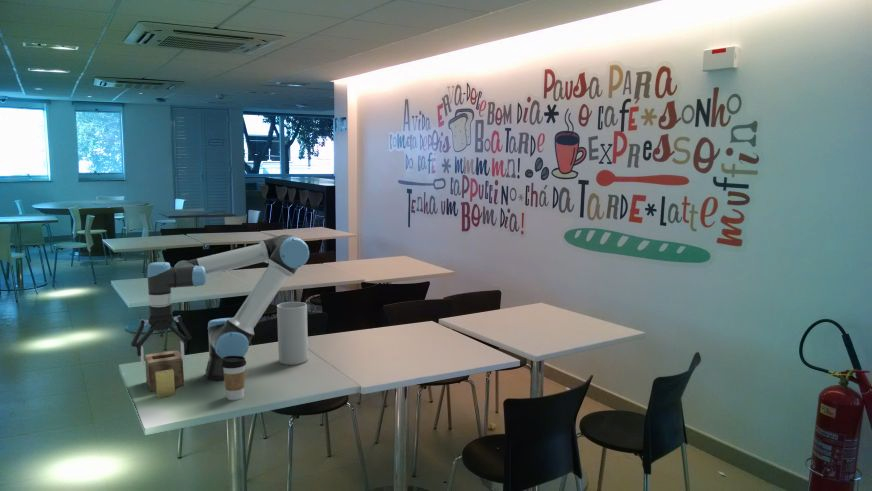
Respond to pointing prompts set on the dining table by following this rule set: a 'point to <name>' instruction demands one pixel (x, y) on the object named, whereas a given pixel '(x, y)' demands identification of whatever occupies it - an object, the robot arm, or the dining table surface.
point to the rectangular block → (165, 383)
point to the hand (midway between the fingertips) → (162, 361)
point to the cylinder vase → (292, 333)
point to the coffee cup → (234, 376)
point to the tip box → (164, 367)
